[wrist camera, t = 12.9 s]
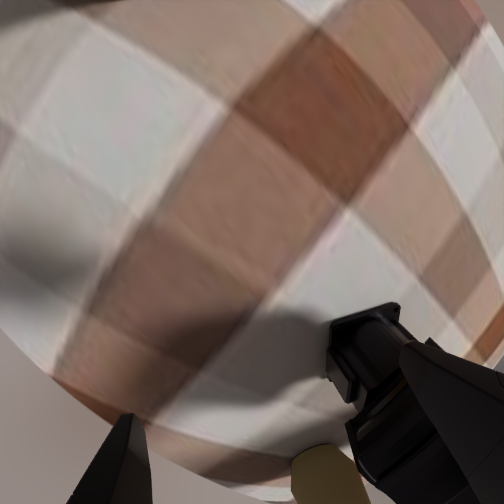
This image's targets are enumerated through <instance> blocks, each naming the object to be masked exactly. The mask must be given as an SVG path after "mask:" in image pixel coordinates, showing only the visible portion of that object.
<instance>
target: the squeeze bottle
mask: <svg viewBox="0 0 504 504" xmlns="http://www.w3.org/2000/svg"><path fill="white" fill-rule="evenodd" d="M291 492H292V494H293V496H294V498H295V500H296V501H297V503H298V504H371V502H370V500H369V497H368V495H367V492H366V490H365V487H364V484H363V482H362V479H361V477H360V474H359V472H358V470H357V467H356V464H355V463H354V462H353V461H352V460H351V459H350V458H349V457H347V456H346V455H345V454H344V453H343V452H342V451H340V450H339V449H338V448H337V447H336V446H335V445H330V444H326V445H320V446H317V447H313V448H310V449H308V450H306V451H304V452H302V453H301V454H299V455H298V456H297V457H295V458H294V460H293V461H292V463H291Z"/></svg>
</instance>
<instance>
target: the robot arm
mask: <svg viewBox="0 0 504 504" xmlns="http://www.w3.org/2000/svg"><path fill="white" fill-rule="evenodd" d="M400 309H401V306H400V305H399V304H398V303H396V302H395V303H392V304H389V305H386V306H383V307H380V308H377V309H373V310H370V311H367V312H364V313H361V314H358V315H354V316H351V317H348V318H344V319H341V320H338V321H335V322H333V323H332V324H331V325H330V333H329V347H328V349H327V354H326V372H327V378H328V380H329V381H330V382H333V384H334V385H335V387H336V388H337V390H338V392H339V393H340V395H341V397H342V398H343V400H344V402H345V403H347V404H349V403H353V405H354V406H355V408H356V409H357V411H358V414H356V415H355V416H354V417H353V418H352V419H349V420H348V421H347V422H346V423H345V428H346V431H347V435H348V439H349V442H350V446H351V449H352V453H353V456H354V460H355V463H356V467H357V470H358V472H359V473H361V474H362V476H363V477H364V478H365V479H366V480H367V481H368V482H370V483H371V484H372V485H374V486H375V487H376V488H377V489H379V490H380V491H382V492H384V493H385V494H386V495H387V496H388V497H390V498H391V499H392V500H393V501H394V502H395V503H396V504H504V374H503V373H501V372H498V371H494V370H492V369H490V368H487V367H484V366H482V365H479V364H476V363H473V362H471V361H468V360H465V359H463V358H460V357H457V356H455V355H452V354H450V353H447V352H445V351H444V350H443V349H442V348H441V347H440V346H439V345H438V344H437V343H436V342H434V341H433V340H432V339H431V338H430V337H429V338H428V339H427V341H426V342H425V344H423V343H421V342H419V341H418V340H417V339H416V338H415V337H414V336H413V335H412V334H411V333H410V332H409V331H407V330H406V329H405V328H404V327H403V326H402V325H401V324H400V323H399V322H398V321H399V315H400ZM336 327H337V328H336ZM335 328H336V329H335ZM152 502H153V501H152V482H151V470H150V464H149V457H148V450H147V443H146V435H145V430H144V428H143V426H142V424H141V423H140V421H139V420H138V418H137V416H136V415H135V414H134V413H124V414H121V415H120V417H119V418H118V420H117V422H116V423H115V425H114V426H113V428H112V429H111V431H110V433H109V435H108V436H107V438H106V439H105V441H104V443H103V444H102V446H101V447H100V449H99V451H98V452H97V454H96V455H95V457H94V459H93V460H92V462H91V463H90V465H89V467H88V469H87V470H86V472H85V474H84V475H83V477H82V478H81V480H80V482H79V483H78V485H77V487H76V489H75V490H74V492H73V495H71V496H70V498H69V500H68V501H67V503H66V504H153V503H152Z"/></svg>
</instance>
